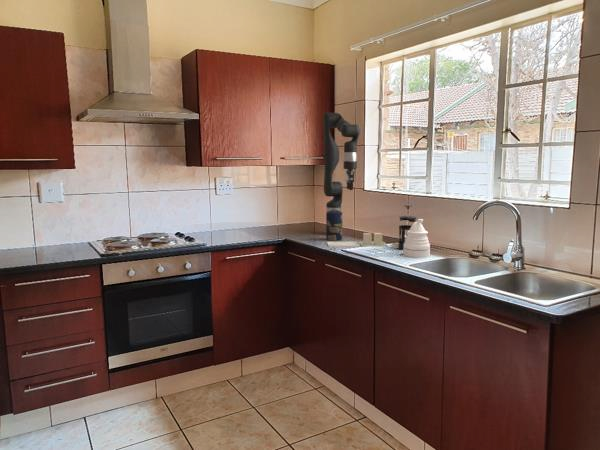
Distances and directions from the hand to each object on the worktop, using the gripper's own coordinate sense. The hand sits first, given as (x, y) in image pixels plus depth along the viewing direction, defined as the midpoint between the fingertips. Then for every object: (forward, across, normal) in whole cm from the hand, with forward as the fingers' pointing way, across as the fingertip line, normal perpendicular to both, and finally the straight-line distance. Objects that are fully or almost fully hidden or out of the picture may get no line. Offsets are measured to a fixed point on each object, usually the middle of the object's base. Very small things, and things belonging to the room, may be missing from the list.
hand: (349, 189), depth 271 cm
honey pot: (+30, +39, +28) cm, 57 cm away
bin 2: (+30, +11, +12) cm, 34 cm away
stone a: (+30, +11, +14) cm, 35 cm away
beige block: (+30, +11, +8) cm, 33 cm away
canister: (+30, -6, -8) cm, 32 cm away
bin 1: (+30, +11, -5) cm, 32 cm away
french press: (+30, +22, +28) cm, 47 cm away
